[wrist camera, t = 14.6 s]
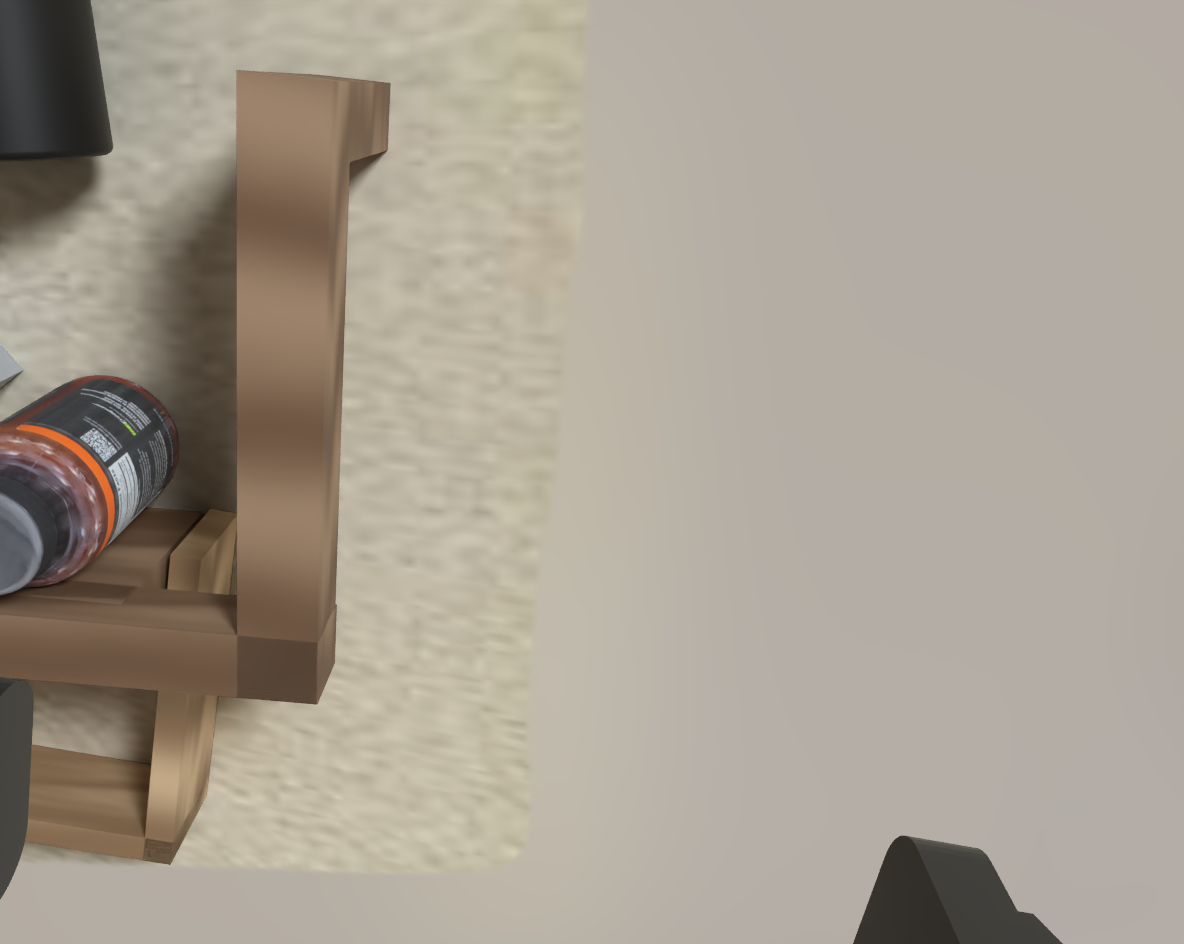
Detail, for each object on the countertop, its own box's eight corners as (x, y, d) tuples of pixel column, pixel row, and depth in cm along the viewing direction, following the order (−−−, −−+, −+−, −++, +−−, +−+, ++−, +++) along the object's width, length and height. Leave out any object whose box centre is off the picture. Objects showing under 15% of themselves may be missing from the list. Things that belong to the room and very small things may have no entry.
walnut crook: (-17, 36, 41) (-206, 19, 31) (391, 83, 42) (334, 81, 32) (20, 547, 48) (-124, 666, 38) (369, 579, 49) (317, 704, 39)
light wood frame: (-51, 459, 47) (-122, 501, 42) (238, 513, 48) (201, 560, 43) (-56, 751, 51) (-120, 818, 47) (206, 794, 52) (170, 864, 48)
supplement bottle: (31, 477, 47) (-129, 590, 36) (58, 351, 45) (-103, 432, 34) (167, 521, 48) (49, 645, 37) (199, 398, 46) (85, 492, 35)
